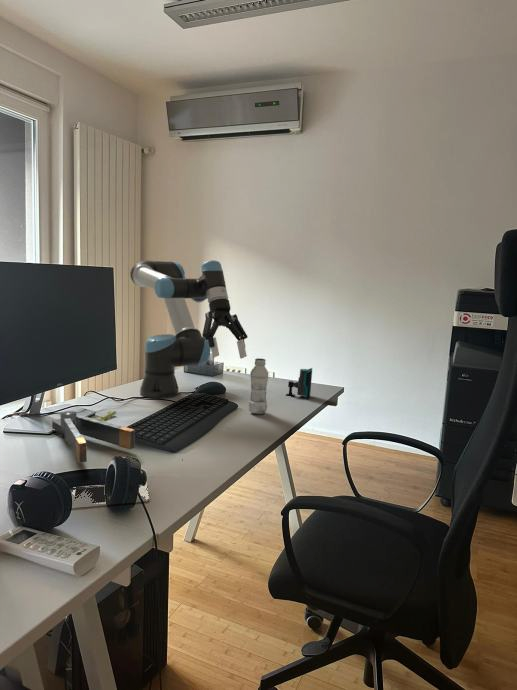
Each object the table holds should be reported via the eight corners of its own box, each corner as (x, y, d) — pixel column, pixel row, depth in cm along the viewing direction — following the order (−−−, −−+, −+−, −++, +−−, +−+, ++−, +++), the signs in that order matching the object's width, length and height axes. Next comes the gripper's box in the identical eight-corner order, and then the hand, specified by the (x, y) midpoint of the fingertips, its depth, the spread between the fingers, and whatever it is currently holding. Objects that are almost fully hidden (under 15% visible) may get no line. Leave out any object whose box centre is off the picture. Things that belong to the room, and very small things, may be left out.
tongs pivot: (50, 430, 145) (49, 408, 144) (64, 427, 148) (64, 405, 147) (65, 439, 138) (64, 416, 137) (79, 436, 142) (79, 413, 140)
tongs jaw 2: (76, 433, 140) (75, 416, 139) (81, 431, 141) (80, 415, 141) (130, 449, 130) (130, 431, 129) (134, 447, 132) (134, 429, 131)
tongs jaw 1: (63, 435, 138) (63, 418, 137) (70, 434, 139) (70, 417, 138) (79, 463, 120) (79, 443, 119) (86, 461, 121) (86, 442, 120)
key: (117, 416, 162) (117, 410, 162) (102, 428, 150) (102, 422, 150) (96, 414, 163) (96, 408, 162) (80, 427, 151) (80, 420, 150)
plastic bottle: (264, 417, 169) (268, 362, 165) (246, 414, 170) (249, 360, 166) (268, 411, 175) (271, 358, 171) (250, 409, 176) (253, 356, 173)
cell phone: (149, 503, 106) (149, 499, 106) (62, 511, 101) (62, 507, 101) (147, 485, 114) (147, 481, 114) (66, 491, 109) (66, 487, 109)
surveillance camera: (288, 365, 199) (312, 367, 198) (286, 393, 201) (310, 395, 200) (287, 368, 193) (311, 370, 192) (285, 397, 195) (309, 399, 194)
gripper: (199, 293, 161) (210, 352, 156) (249, 301, 180) (261, 354, 175) (185, 301, 166) (196, 359, 161) (235, 308, 185) (247, 360, 179)
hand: (230, 357), depth 168 cm, fingers open, 13 cm apart
